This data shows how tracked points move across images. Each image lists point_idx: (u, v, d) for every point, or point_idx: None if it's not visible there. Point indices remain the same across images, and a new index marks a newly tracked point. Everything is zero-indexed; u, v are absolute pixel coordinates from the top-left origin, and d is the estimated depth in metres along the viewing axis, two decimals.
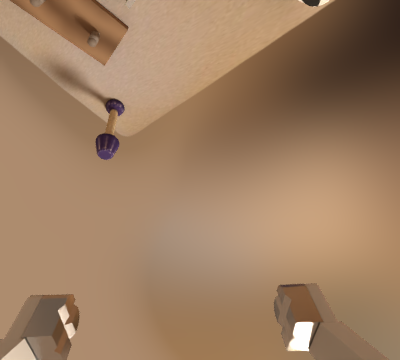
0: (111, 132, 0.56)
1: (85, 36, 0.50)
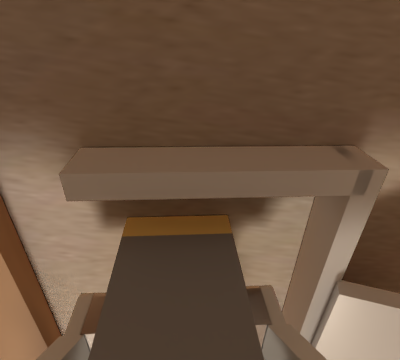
0: None
1: None
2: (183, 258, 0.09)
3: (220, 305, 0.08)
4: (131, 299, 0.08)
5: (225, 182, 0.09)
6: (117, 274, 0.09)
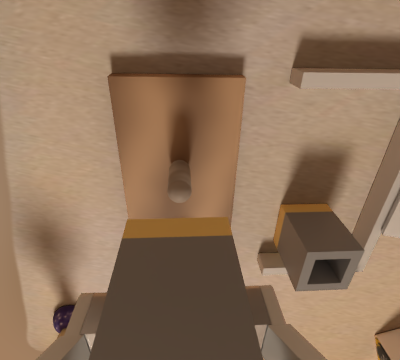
0: None
1: None
2: (183, 260, 0.10)
3: (220, 307, 0.08)
4: (131, 301, 0.08)
5: (378, 79, 0.17)
6: (117, 276, 0.09)
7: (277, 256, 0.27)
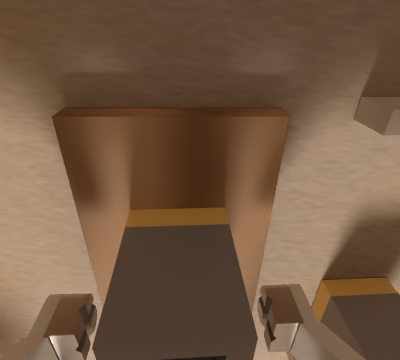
0: None
1: None
2: (183, 246, 0.10)
3: (217, 288, 0.09)
4: (135, 283, 0.09)
5: None
6: (121, 261, 0.09)
7: None
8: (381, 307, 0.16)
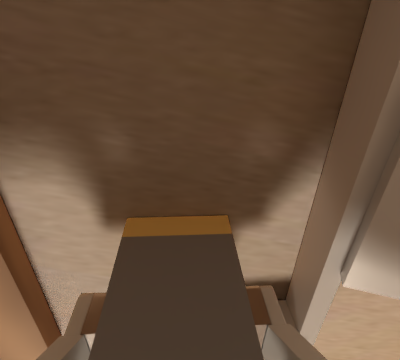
0: None
1: None
2: None
3: None
4: None
5: None
6: None
7: None
8: (190, 251, 0.10)
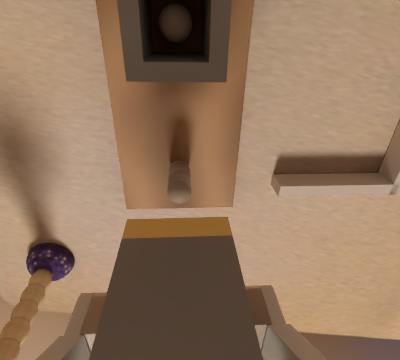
0: None
1: (156, 150, 0.20)
2: None
3: None
4: None
5: None
6: None
7: (296, 176, 0.22)
8: (190, 253, 0.10)
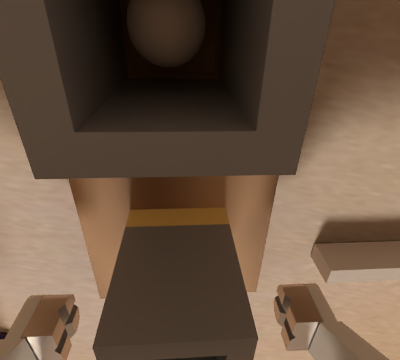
0: None
1: None
2: None
3: None
4: None
5: None
6: None
7: (350, 248, 0.15)
8: (190, 239, 0.10)
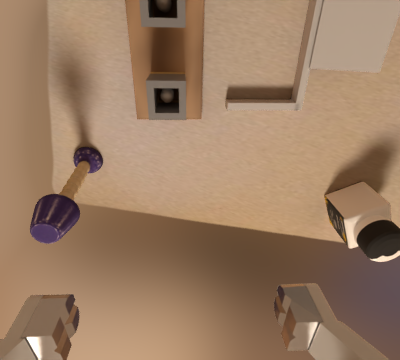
0: (73, 198, 0.32)
1: None
2: None
3: None
4: None
5: None
6: None
7: (239, 100, 0.37)
8: (171, 74, 0.32)
